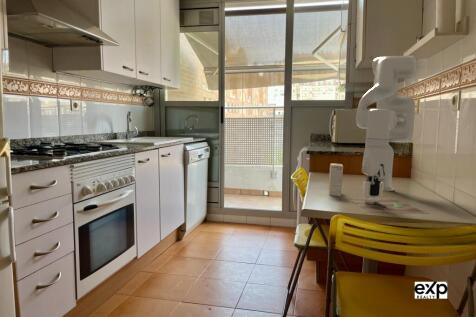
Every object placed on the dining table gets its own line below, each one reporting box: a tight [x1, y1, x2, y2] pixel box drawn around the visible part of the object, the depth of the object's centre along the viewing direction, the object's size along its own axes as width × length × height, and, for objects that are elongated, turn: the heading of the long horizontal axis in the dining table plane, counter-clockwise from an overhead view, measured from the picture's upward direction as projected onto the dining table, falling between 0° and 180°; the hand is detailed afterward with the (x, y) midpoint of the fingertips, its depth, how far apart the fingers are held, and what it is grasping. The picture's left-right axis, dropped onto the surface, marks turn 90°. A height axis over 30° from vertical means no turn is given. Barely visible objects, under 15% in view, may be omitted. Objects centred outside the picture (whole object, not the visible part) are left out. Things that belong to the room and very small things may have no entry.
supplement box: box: [327, 162, 344, 197], centre depth 145 cm, size 8×5×13 cm, turn 168°
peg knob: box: [361, 181, 386, 208], centre depth 127 cm, size 12×7×8 cm, turn 5°
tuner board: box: [343, 196, 430, 215], centre depth 129 cm, size 24×20×1 cm
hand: (372, 194), depth 131 cm, fingers closed on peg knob, 2 cm apart
